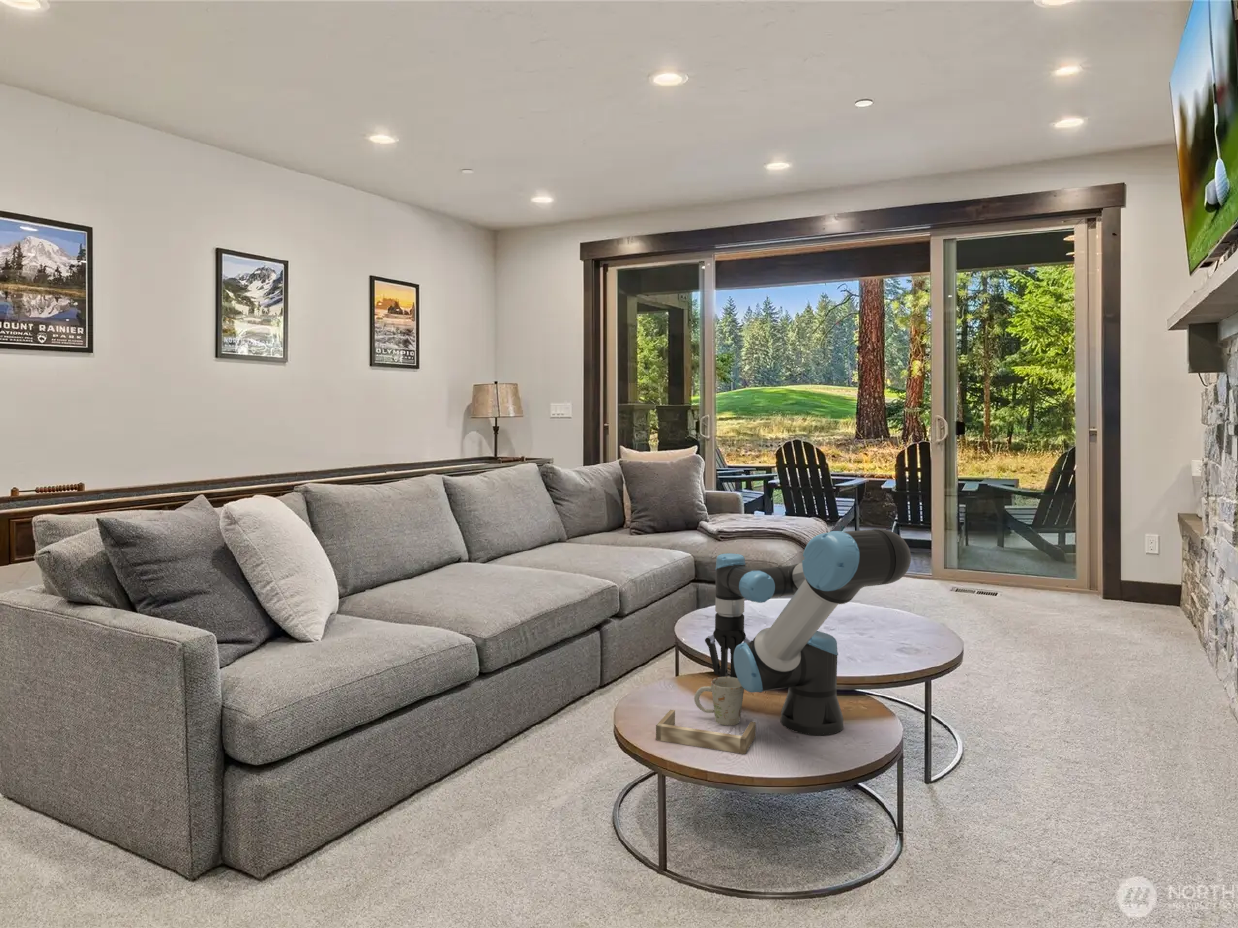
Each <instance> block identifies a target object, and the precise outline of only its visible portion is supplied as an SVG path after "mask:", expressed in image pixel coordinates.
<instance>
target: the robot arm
mask: <svg viewBox="0 0 1238 928" xmlns="http://www.w3.org/2000/svg"><path fill="white" fill-rule="evenodd" d="M802 554H803V555H802V557H804V559H803V560H801V562H799V563H794V564H791V565H782V566H771V567H758V568H751V567H747V566H746V565H747V564H746V559H745V556H744V555H742V554H740V553H730V552H729V553H721V554H719V555H717V556H716V558H715V559H716V561H715V562H716V563H715V569H714V570H715V602H714V603H715V608H714V610H715V612H716V613H715V615H714V617H715V618H714V619H715V620H714V622H715V623H714V631H713V633H712V635H708V636H706V637H705V638H704V642H705V644H706V646H707V647H708V652H709V655H710V656H709V657H710V661H711V665H712V669H713V673H714V675H715V676H716V675H717V676H719V677H734V678H738V680H739V682H740V684H741V686H742V687H743V688H744V691H747V692H749V693H760V694H761V693H762V692H767V691H774V690H775V691H776V690H782V689H787V688H788V690H787V694H786V697H785V700H784V702H783V706H782V708H781V711H780V723H781V725H782V726H783V727H785V728H786V729H788V730H790V731H793V732H795V733H799V734H804V735H810V736H827V735H828V736H829V735H833V734H837V733H839V732H840V731H842V730H843V729H844V715H843V712H842V709H841V706H840V703H839V699H838V694H837V688H838V687H837V685H838V681H837V680H838V679H837V678H838V677H837V676H838V656H839V653H838V642H837V639H836V638H835V637H834V636H833V635H831V634H829V633H827V632H824V631H820V630H819V629H820V628H821V626H822V625H823V624H824V622H825V621H826V620H827V619H828V618H829V616H830V615H831V614H832V613H833V611H834V610H835V609H836V608H837V606H838V605H845V604H848V603H849V602H851V601H852V600H853V598H854V597H855V596H857V594H858V593H859V592H860V590H861V589H863V588H864V587H873V586H874V587H875V586H882V585H888V584H892V583H895V582H897V581H899V580H901V579H902V578H903V577H904V576H905V574H907V572H908V571H909V569H910V567H911V562H912V554H911V550H910V547H909V545H908V544H907V542H906V540H905V539H904V538H903V537H901V536H900V535H899V534H897V533H895V532H894V531H891V530H889V529H888V530H887V529H884V528H882V529H881V528H874V529H863V530H862V529H861V530H860V529H859V530H847V531H846V530H845V531H841V530H831V531H829V532H823V533H819V534H818V535H815V536H813V537H812V538H811V539H810V540H809V541H808V542H807V544H806V546H805V548H804V550H803V553H802ZM789 596H792V597H791V598H790V599H789V601H788V602H787V604H786V605H785V606H784V608H783V609H782V611H781V612H780V613H779V615H778V616H777V617H776V619H775V621H774V622H773V623H772V624H771V626H770V627H766V628H763V629H761V630H759V632H758V633H757V634H756V635H755V637H754V638H753V640H751V639H749V638H748V637H747V634H746V633H745V615H744V613H745V600H748V601H749V602H750V601H751V602H753V603H754V602H755V603H757V604H758V603H760V604H763V603H766V602H767V601H769V600H770V599H771V598H772V599H773V598H781V597H789ZM715 642H717V644H718V645H719V647H720V658H719V656H718V655H719V654H718V651H717V647H716V643H715ZM729 650H730V651H729ZM728 651H729V652H730V671H729V672H730V675H728V674H729V672H728V669H729V668H728V664H729V663H728V659H729V656H728V655H729V652H728ZM719 659H720V660H719Z"/></svg>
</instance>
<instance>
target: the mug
mask: <svg viewBox="0 0 1238 928" xmlns="http://www.w3.org/2000/svg"><path fill="white" fill-rule="evenodd" d="M704 692H710V693H711V696H712V703H713V709H709V708H705V707H704V706H703V705H702V703H701V701H700V698H701V695H702V694H703V693H704ZM744 693H745V689H744V688H743V687H742V686H741V684H740V682H739V680H738V678H734V677H720V676H719V677H715V678H714V677H713V679H712V680H711V681H710V686H701V687H699V688H698V689H697V690H696V691H695V694H694V698H693V699H694V703H695V706H696V707H697V708H698V709H699V710H700V711H702V712H703V713H705V714H706V713H707V714H714V719H715V722H716V723H717V724H718V725H722V726H735V725H738V724H739V723H740V721H741V714H742V713H741V712H742V706H743V700H744Z"/></svg>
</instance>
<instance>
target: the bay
mask: <svg viewBox="0 0 1238 928" xmlns="http://www.w3.org/2000/svg"><path fill="white" fill-rule="evenodd" d="M756 726H757V722H756V721H752V720H751V721H750V722H749V724H748V725H747V727H746V728H745V730H744V732H743V733H742V735H739V734H732V733H725V732H717V731H711V730H707V729H706V730H705V729H700V728H699V729H698V728H693V727H692V728H691V727H686V726H679V725H676V709H675V710H674V709H670V710H668V712H667V713H666V714H665V715H664V716H663V717H662V718H661V719H660V720H659V721H658V723H657V724H656V725H655V741H661V742H666V743H673V744H679V745H686V746H692V747H698V748H702V749H703V748H704V749H711V750H716V751H717V750H718V751H722V752H730V753H736V754H742V755H746V754H747V751H748V750H749V749H750V747H751V745H752V743H753V741H754V740H755V738H756V736H757V734H756V732H757V731H756V728H757V727H756Z"/></svg>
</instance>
